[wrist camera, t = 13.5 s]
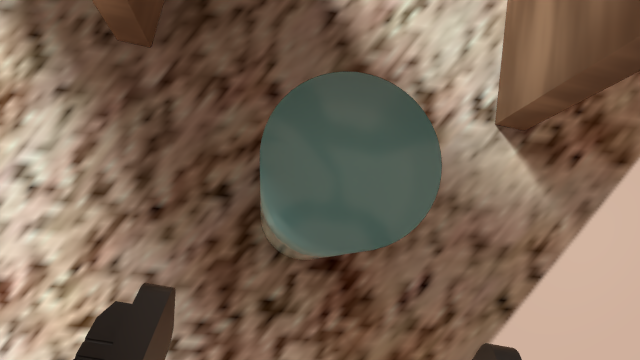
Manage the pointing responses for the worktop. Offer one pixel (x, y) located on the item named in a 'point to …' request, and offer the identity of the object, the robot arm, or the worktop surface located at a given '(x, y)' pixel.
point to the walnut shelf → (504, 50)
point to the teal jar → (346, 167)
